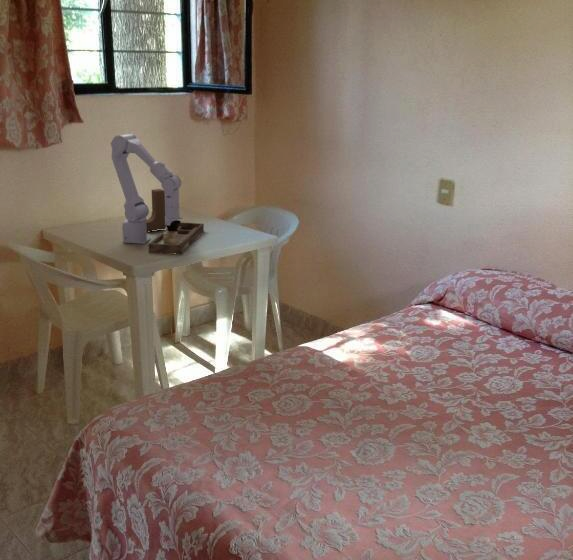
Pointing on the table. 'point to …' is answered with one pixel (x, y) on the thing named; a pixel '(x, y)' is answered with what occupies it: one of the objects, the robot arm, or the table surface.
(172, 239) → the maple block
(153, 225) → the wooden block
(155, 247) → the track
